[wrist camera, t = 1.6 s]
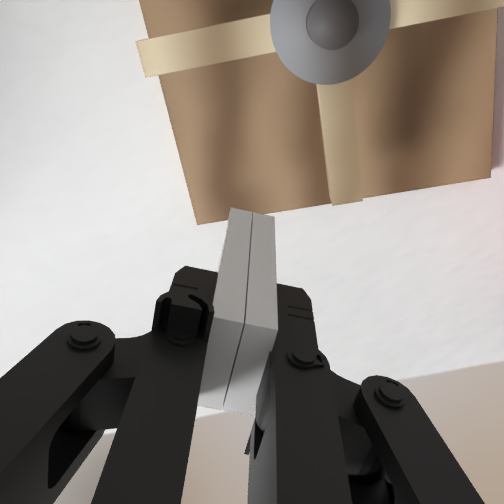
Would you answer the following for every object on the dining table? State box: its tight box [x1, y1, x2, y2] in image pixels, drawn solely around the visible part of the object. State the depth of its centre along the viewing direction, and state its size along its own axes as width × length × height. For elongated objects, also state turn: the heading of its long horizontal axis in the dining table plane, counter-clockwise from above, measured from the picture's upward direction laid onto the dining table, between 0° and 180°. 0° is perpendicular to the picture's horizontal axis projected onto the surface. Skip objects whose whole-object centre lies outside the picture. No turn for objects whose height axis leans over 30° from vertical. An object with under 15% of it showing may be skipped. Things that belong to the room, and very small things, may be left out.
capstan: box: [136, 0, 504, 206], centre depth 24 cm, size 22×20×4 cm
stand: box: [139, 0, 498, 225], centre depth 28 cm, size 21×24×4 cm
